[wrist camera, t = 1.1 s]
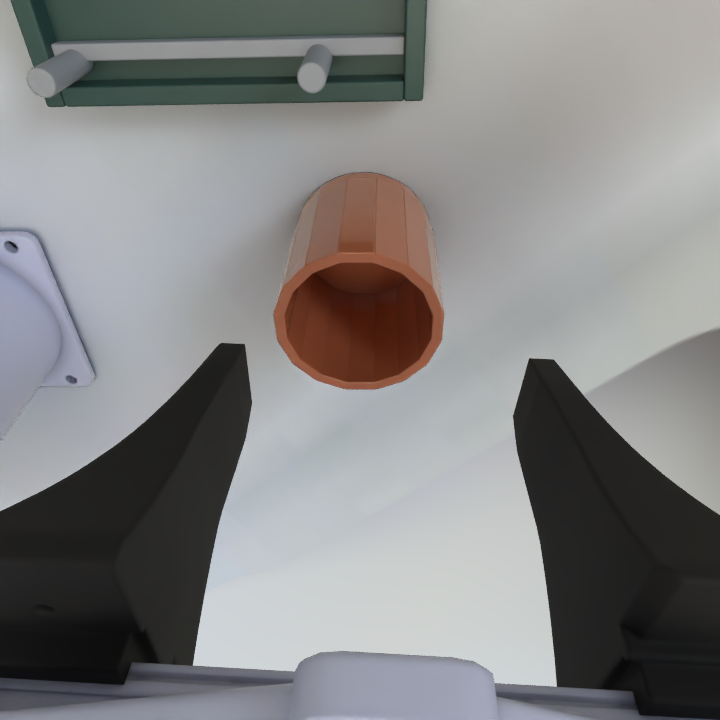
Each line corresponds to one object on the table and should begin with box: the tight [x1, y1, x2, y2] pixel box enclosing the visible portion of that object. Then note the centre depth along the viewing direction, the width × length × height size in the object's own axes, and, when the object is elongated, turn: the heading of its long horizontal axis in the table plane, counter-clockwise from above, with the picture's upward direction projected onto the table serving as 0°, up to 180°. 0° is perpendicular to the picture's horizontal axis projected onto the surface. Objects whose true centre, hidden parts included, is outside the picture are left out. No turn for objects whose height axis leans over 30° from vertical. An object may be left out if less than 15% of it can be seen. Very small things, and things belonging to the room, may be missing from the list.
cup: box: [273, 172, 444, 389], centre depth 21 cm, size 5×5×6 cm
